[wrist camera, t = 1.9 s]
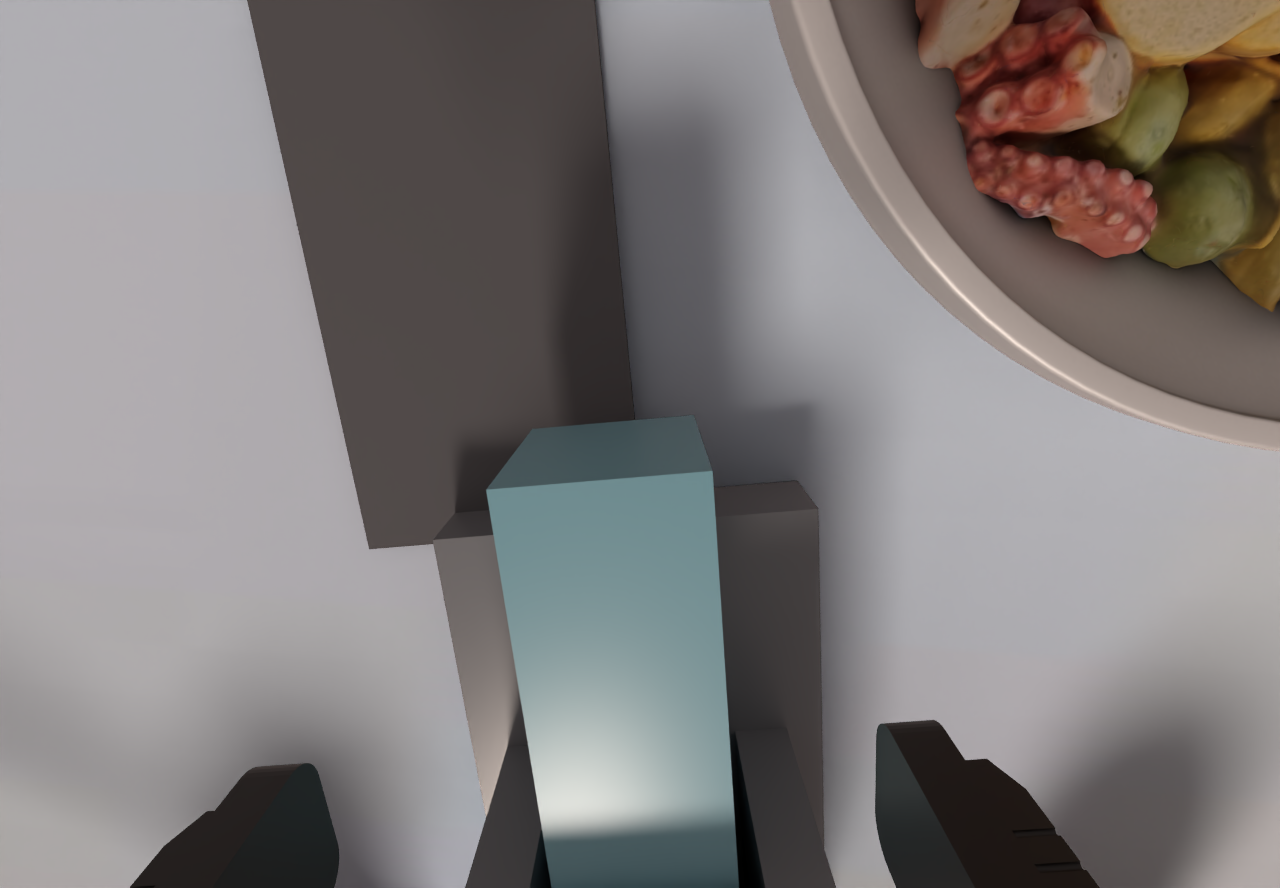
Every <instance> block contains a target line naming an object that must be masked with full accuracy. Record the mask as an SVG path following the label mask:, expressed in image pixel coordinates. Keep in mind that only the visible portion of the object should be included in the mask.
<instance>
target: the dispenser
mask: <svg viewBox="0 0 1280 888" xmlns="http://www.w3.org/2000/svg"><path fill="white" fill-rule="evenodd" d="M714 501H715V517H716V533H717V549H718V564H719V580H720V596H721V612H722V627H723V643H724V659H725V675H726V691H727V706H728V722H729V738H730V754H731V769H732V785H733V801H734V817H735V833H736V848H737V864H738V880H739V888H836V886H835V883H834V880H833V876H832V873H831V870H830V867H829V863H828V860H827V857H826V854H825V851H824V814H823V755H822V697H821V638H820V580H819V521H818V508H817V507H816V505H815V504H814V502H813V501H812V500H811V498H810V497H809V496H808V494H807V493H806V492H805V490H804V489H803V488H802V486H801V485H800V484H799V482H798V481H787V482H775V483H763V484H751V485H738V486H726V487H714ZM433 544H434V549H435V554H436V559H437V564H438V569H439V575H440V580H441V585H442V590H443V595H444V601H445V606H446V611H447V616H448V621H449V627H450V632H451V637H452V642H453V647H454V653H455V658H456V663H457V668H458V673H459V679H460V684H461V689H462V694H463V699H464V705H465V710H466V715H467V720H468V725H469V731H470V736H471V741H472V746H473V751H474V757H475V762H476V767H477V772H478V777H479V782H480V788H481V793H482V798H483V803H484V808H485V814H486V820H485V823H484V827H483V830H482V833H481V837H480V840H479V844H478V847H477V850H476V854H475V857H474V860H473V864H472V867H471V870H470V874H469V877H468V880H467V884H466V887H465V888H552V887H551V881H550V875H549V869H548V863H547V857H546V851H545V845H544V839H543V833H542V827H541V821H540V814H539V808H538V802H537V796H536V790H535V784H534V778H533V772H532V766H531V760H530V754H529V748H528V741H527V735H526V729H525V723H524V717H523V711H522V705H521V699H520V693H519V687H518V681H517V675H516V669H515V662H514V656H513V650H512V644H511V638H510V632H509V626H508V620H507V614H506V608H505V602H504V596H503V590H502V583H501V577H500V571H499V565H498V559H497V553H496V547H495V541H494V535H493V529H492V523H491V517H490V511H489V510H485V511H473V512H461V513H454V515H453V516H452V517H451V518H450V520H449V521H448V522H447V523H446V524H445V526H444V527H443V528H442V529H441V531H440V532H439V533H438V534H437V535H436V537H435V538H434V539H433Z"/></svg>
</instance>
